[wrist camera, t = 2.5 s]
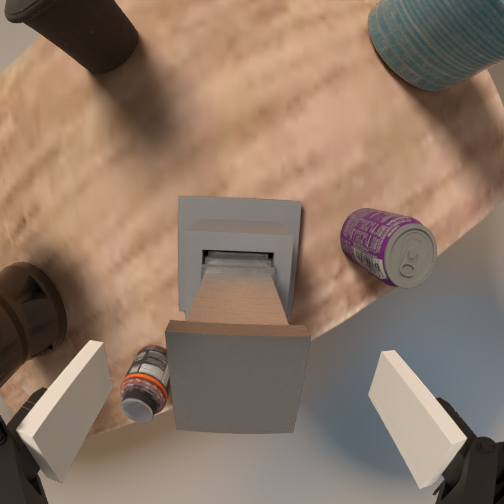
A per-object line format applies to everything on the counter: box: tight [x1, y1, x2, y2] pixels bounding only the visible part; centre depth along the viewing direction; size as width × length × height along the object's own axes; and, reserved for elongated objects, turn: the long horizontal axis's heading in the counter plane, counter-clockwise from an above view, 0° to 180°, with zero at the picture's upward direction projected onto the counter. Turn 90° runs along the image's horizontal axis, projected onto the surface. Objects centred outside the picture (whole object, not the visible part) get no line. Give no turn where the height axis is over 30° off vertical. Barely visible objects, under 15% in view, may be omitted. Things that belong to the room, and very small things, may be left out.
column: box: [165, 250, 311, 434], centre depth 23 cm, size 6×6×23 cm
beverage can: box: [341, 208, 437, 288], centre depth 30 cm, size 7×7×12 cm
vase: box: [368, 0, 504, 92], centre depth 17 cm, size 16×16×27 cm
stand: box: [178, 196, 301, 321], centre depth 30 cm, size 14×14×12 cm
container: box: [5, 0, 137, 73], centre depth 19 cm, size 9×9×20 cm
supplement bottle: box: [120, 345, 171, 423], centre depth 33 cm, size 6×6×11 cm
